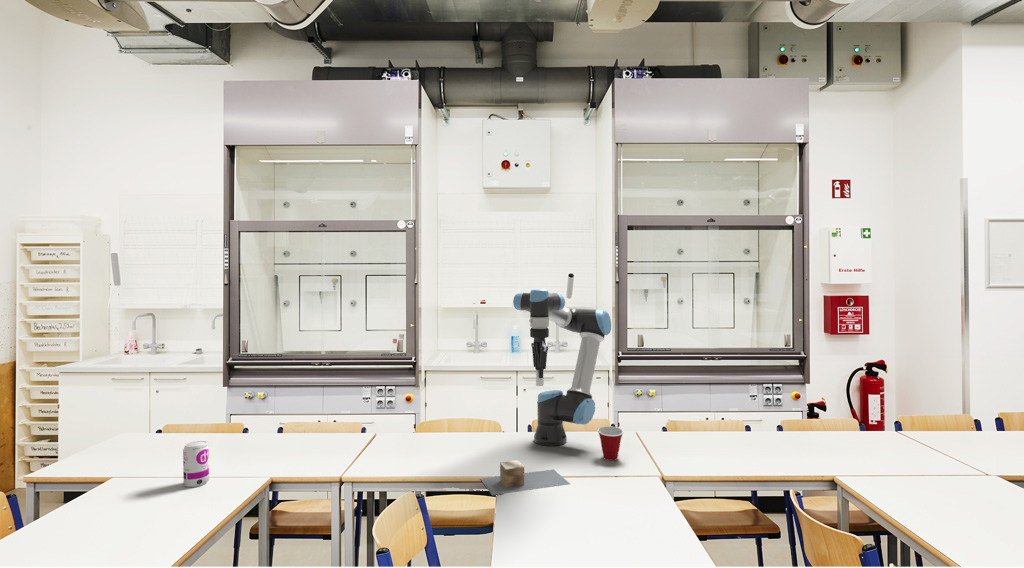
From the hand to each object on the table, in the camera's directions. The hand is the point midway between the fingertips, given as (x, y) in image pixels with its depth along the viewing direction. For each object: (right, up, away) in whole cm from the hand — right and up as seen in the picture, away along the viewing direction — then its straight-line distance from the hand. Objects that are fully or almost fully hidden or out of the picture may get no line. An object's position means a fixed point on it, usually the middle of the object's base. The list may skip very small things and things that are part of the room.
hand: (539, 385), depth 221 cm
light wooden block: (-11, -26, -19) cm, 34 cm away
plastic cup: (+30, -32, +8) cm, 45 cm away
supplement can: (-129, -34, -17) cm, 135 cm away
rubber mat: (-6, -33, -17) cm, 38 cm away
